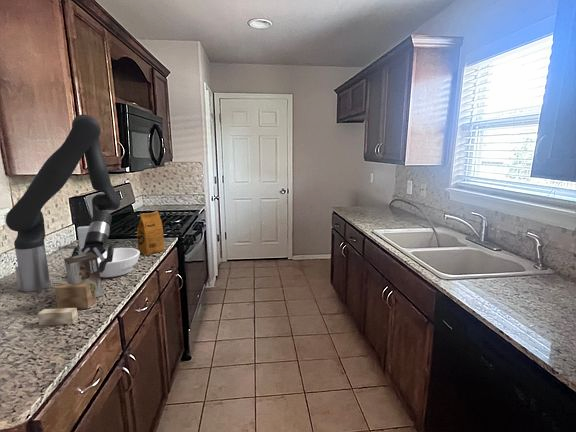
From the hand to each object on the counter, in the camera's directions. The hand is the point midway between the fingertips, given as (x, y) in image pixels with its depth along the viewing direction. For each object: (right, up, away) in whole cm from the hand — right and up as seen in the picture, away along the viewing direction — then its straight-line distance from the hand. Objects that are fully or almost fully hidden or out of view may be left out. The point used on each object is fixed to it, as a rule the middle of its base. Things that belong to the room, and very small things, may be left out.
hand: (88, 272), depth 121 cm
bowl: (-4, -5, +27) cm, 27 cm away
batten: (+1, -13, -17) cm, 21 cm away
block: (0, -10, -6) cm, 12 cm away
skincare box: (-41, +3, +65) cm, 77 cm away
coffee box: (-1, -9, +1) cm, 9 cm away
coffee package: (0, +1, +57) cm, 57 cm away
